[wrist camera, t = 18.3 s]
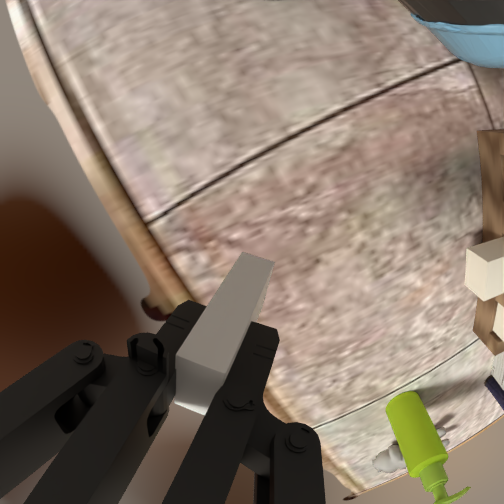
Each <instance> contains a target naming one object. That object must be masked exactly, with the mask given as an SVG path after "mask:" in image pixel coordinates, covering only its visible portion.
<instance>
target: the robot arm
mask: <svg viewBox="0 0 504 504" xmlns="http://www.w3.org/2000/svg"><path fill="white" fill-rule="evenodd" d="M398 1H399V2H400V3H401V4H402V5H404V6H405V7H406V8H407V9H408V10H409V11H410V12H411V16H412V17H413V18H414V19H415V20H416V21H417V22H418V23H420V24H422V25H424V26H426V27H427V28H428V29H429V30H430V31H431V32H432V33H433V34H434V35H435V36H436V37H437V38H438V39H439V40H440V41H441V42H442V43H443V44H444V46H445V47H446V48H447V49H448V50H449V51H450V52H451V53H452V54H454V55H455V56H456V57H458V58H459V59H461V60H463V61H466V62H469V63H472V64H474V65H476V66H480V67H487V68H504V0H398ZM274 263H275V262H274V261H270V260H267V259H264V258H261V257H258V256H254V255H251V254H248V253H245V252H242V253H241V255H240V256H239V258H238V259H237V261H236V262H235V264H234V265H233V267H232V269H231V270H230V272H229V273H228V275H227V276H226V278H225V279H224V281H223V282H222V284H221V285H220V287H219V289H218V290H217V292H216V293H215V295H214V296H213V298H212V299H211V301H210V302H209V304H208V305H207V306H204V305H201V304H199V303H196V302H193V301H190V300H187V301H186V302H184V303H182V304H180V305H178V306H177V308H176V309H175V310H174V311H173V313H172V314H171V316H170V317H169V318H168V319H167V321H166V323H164V325H163V326H162V327H161V329H160V330H159V331H158V333H157V334H152V333H139V334H136V335H133V336H131V337H130V338H129V339H128V340H127V347H128V355H129V357H119V356H114V355H108V354H103V351H102V349H101V348H100V346H99V345H98V344H96V343H95V342H93V341H88V340H79V341H76V342H74V343H72V344H70V345H69V346H67V347H66V348H64V349H63V350H61V351H60V352H59V353H57V354H56V355H54V356H53V357H51V358H50V359H48V360H47V361H45V362H44V363H42V364H41V365H39V366H38V367H36V368H35V369H33V370H32V371H31V372H29V373H28V374H26V375H25V376H23V377H22V378H20V379H19V380H17V381H16V382H15V383H13V384H12V385H10V386H9V387H7V388H6V389H5V390H3V391H2V392H0V499H1V498H2V497H3V496H4V495H6V494H7V493H8V492H10V491H11V490H12V489H13V488H15V487H16V486H17V485H19V483H21V482H22V481H23V480H25V479H26V478H27V477H28V476H30V475H31V474H32V473H33V472H35V471H36V470H37V469H38V468H40V467H41V466H42V465H43V464H45V463H46V462H47V461H48V460H50V459H51V458H52V457H53V456H55V455H56V454H57V453H58V452H59V451H60V452H59V453H58V455H57V456H56V457H55V459H54V460H53V462H52V463H51V465H50V466H49V467H48V469H47V470H46V472H45V473H44V474H43V476H42V478H41V479H40V480H39V482H38V484H37V485H36V486H35V488H34V489H33V491H32V492H31V493H30V495H29V496H28V498H27V499H26V501H25V502H24V504H118V503H119V501H120V499H121V498H122V496H123V494H124V492H125V491H126V489H127V487H128V485H129V483H130V482H131V480H132V478H133V476H134V475H135V473H136V471H137V469H138V467H139V466H140V464H141V462H142V460H143V459H144V457H145V455H146V453H147V452H148V450H149V448H150V446H151V444H152V443H153V441H154V439H155V437H156V436H157V434H158V432H159V430H160V428H161V426H162V424H163V423H164V421H165V420H166V418H167V416H168V412H169V405H170V403H171V402H172V400H173V398H174V396H175V402H174V403H176V404H178V405H180V406H183V407H185V408H188V409H190V410H192V411H195V412H198V413H200V414H203V415H205V417H204V419H203V421H202V423H201V425H200V427H199V429H198V431H197V433H196V435H195V437H194V440H193V442H192V444H191V446H190V448H189V450H188V452H187V454H186V456H185V458H184V460H183V462H182V464H181V466H180V468H179V470H178V472H177V474H176V476H175V478H174V480H173V482H172V484H171V486H170V488H169V490H168V492H167V494H166V496H165V498H164V500H163V502H162V504H225V501H226V498H227V496H228V493H229V491H230V488H231V485H232V483H233V480H234V477H235V475H236V472H237V469H238V467H239V464H240V463H242V464H243V465H245V466H246V467H248V468H249V469H251V470H252V471H254V472H255V474H254V500H253V501H254V503H253V504H325V503H326V502H325V489H324V478H323V466H322V455H321V445H320V440H319V437H318V434H317V433H316V432H315V431H314V430H313V429H312V428H311V427H309V426H307V425H306V424H302V423H298V422H294V423H287V424H286V423H284V422H282V421H281V420H279V419H278V418H276V417H275V416H273V415H272V414H271V413H270V412H269V411H268V410H267V408H266V407H265V404H264V402H263V392H264V389H265V386H266V383H267V379H268V376H269V373H270V370H271V367H272V364H273V360H274V357H275V354H276V351H277V347H278V344H279V341H280V340H279V335H278V331H277V329H275V328H272V327H268V326H265V325H262V324H259V323H256V322H257V319H258V317H259V314H260V312H261V309H262V306H263V303H264V299H265V296H266V292H267V288H268V285H269V281H270V278H271V274H272V270H273V267H274Z"/></svg>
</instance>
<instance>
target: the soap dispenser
mask: <svg viewBox="0 0 504 504" xmlns="http://www.w3.org/2000/svg"><path fill="white" fill-rule="evenodd" d="M386 413H387V416H388V418H389V421H390V423H391V426H392V429H393V431H394V434H395V436H396V439H397V442H398V444H399V447H400V450H401V453H402V455H403V458H404V461H405V464H406V466H407V469H408V472H409V475H410V477H413V478H414V477H420V478H421V481H422V483H423V486H424V489H425V491H426V492H433V494H434V497H435V500H436V502H435V503H434V504H450V503H452V502H454V501H456V500H457V499H459V498H460V497H462V496H463V495H464V494H465V493H466V492H467V491H468V490H469V489H470V488H471V487H466V488H465V489H463V490H462V491H460V492H458V493H456V494H454V495H452V496H449V497H448V495H447V492H446V490H445V487H444V485H445V484H446V482H447V481H448V477H447V475H446V472H445V470H444V468H443V464H444V463H445V462H446V461H447V459H448V454H447V452H446V450H445V447H444V445H443V443H442V441H441V439H440V437H439V435H438V433H437V431H436V429H435V427H434V425H433V423H432V421H431V419H430V417H429V415H428V413H427V411H426V409H425V407H424V405H423V403H422V401H421V399H420V397H419V395H418V394H417V393H416V392H414V391H408V392H404V393H402V394H399V395H398V396H396V397H394V398H393V399H392V400H391V401H390V402H389V403H388V405H387V407H386Z"/></svg>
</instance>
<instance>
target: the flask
mask: <svg viewBox="0 0 504 504" xmlns="http://www.w3.org/2000/svg"><path fill="white" fill-rule="evenodd" d="M484 384H485V386H486V387H487V388H488V389H489V391H490V392H491V393H492V395H493V396H494V397H495V399H496V400H497V402H498V403H499V404H500V406H501V407H502V409H503V410H504V390H503V389H502V388H501V386H500V385H499V383H498V382H497V381H496V379H495V378H494V377H493V375H491V376H489V377H488V378H487V379H486V380H485V382H484Z"/></svg>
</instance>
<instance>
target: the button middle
mask: <svg viewBox="0 0 504 504" xmlns="http://www.w3.org/2000/svg"><path fill="white" fill-rule="evenodd" d="M465 286H466V287H468V288H469V289H470V290H471V291H472V292H473V293H474V294H476V295H477V296H478V297H479V298H480V299H481V300H482V301H483V302H484V301H486V300H489V299H491V298H493V297H496V296H498V295H500V294H503V293H504V237H501V238H497V239H494V240H491V241H488V242H485V243H482V244H478V245H475V246H472V247H468V248H467V252H466V272H465Z"/></svg>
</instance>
